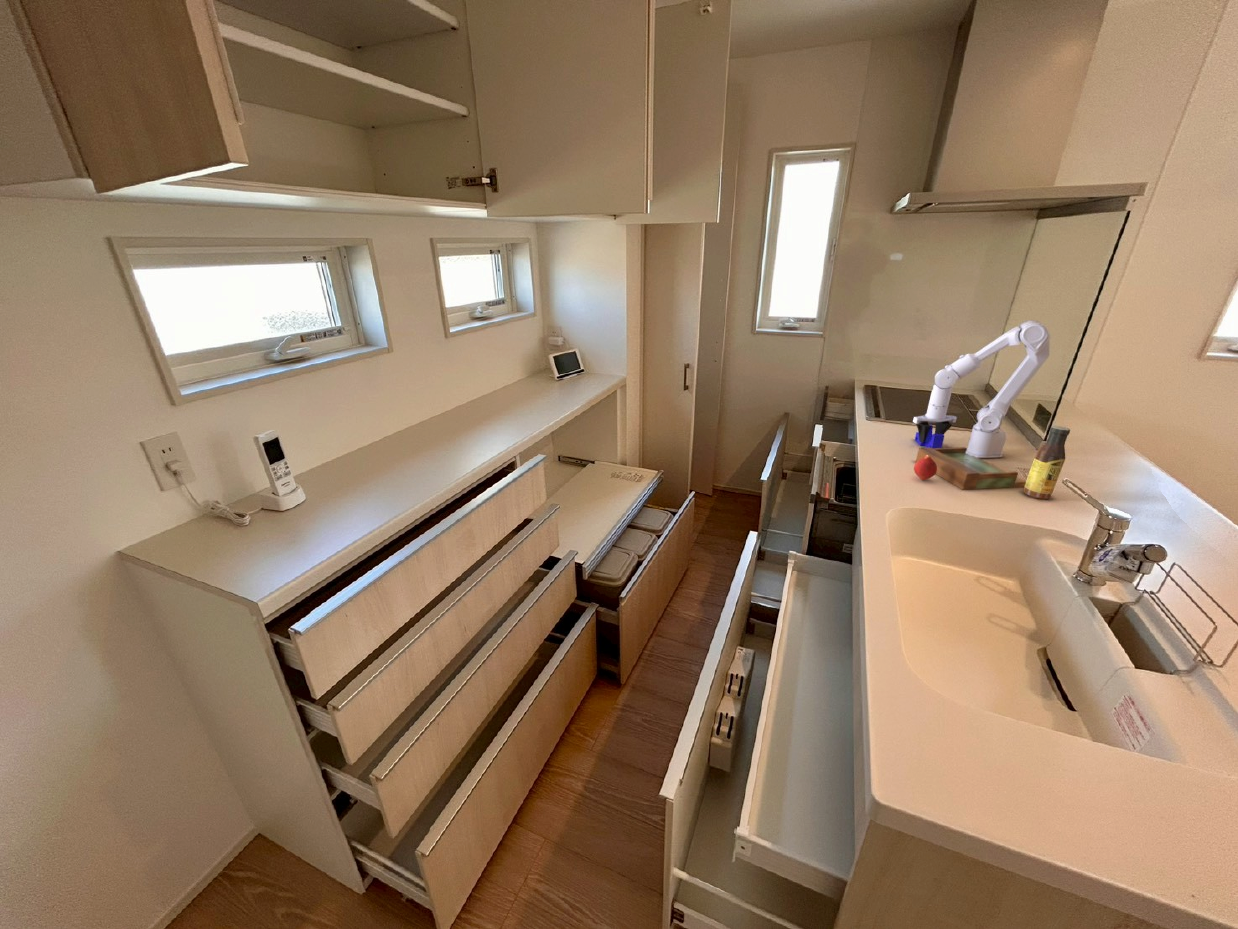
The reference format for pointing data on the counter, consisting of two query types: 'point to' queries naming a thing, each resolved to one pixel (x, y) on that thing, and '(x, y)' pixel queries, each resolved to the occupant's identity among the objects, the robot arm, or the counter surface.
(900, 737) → the counter surface
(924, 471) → the onion
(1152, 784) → the counter surface
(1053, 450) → the sauce bottle
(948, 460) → the wooden serving tray
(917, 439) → the cable clip
